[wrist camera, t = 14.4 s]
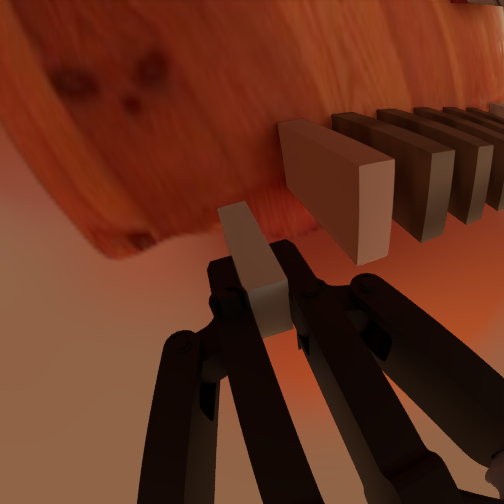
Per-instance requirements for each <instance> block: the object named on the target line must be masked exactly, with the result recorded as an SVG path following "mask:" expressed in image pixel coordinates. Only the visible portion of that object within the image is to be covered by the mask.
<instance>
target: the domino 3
mask: <svg viewBox="0 0 504 504" xmlns="http://www.w3.org/2000/svg"><path fill="white" fill-rule="evenodd" d="M377 120H380V121H383V122H386V123H389V124H392V125H395V126H398V127H400V128H403V129H406V130H408V131H411V132H414V133H416V134H419V135H421V136H424V137H426V138H429V139H431V140H433V141H436V142H438V143H440V144H443V145H445V146H447V147H449V148H452V149H454V150H455V157H454V167H453V176H452V184H451V191H450V198H449V204H448V210H447V211H448V212H449V213H451V214H452V215H453V216H455V217H456V218H458V219H459V220H460V221H462V222H463V223H464V224H466V225H467V224H469V223H472V222H474V221H476V220H479V219H481V217H482V213H483V209H484V204H485V199H486V194H487V189H488V183H489V177H490V171H491V164H492V156H493V148H494V145H492V144H490V143H488V142H486V141H484V140H481V139H479V138H477V137H475V136H472V135H470V134H467V133H465V132H462V131H460V130H457V129H455V128H452V127H450V126H447V125H444V124H441V123H439V122H436V121H433V120H430V119H427V118H424V117H421V116H418V115H414V114H411V113H408V112H404V111H401V110H397V109H380V110H377Z"/></svg>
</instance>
